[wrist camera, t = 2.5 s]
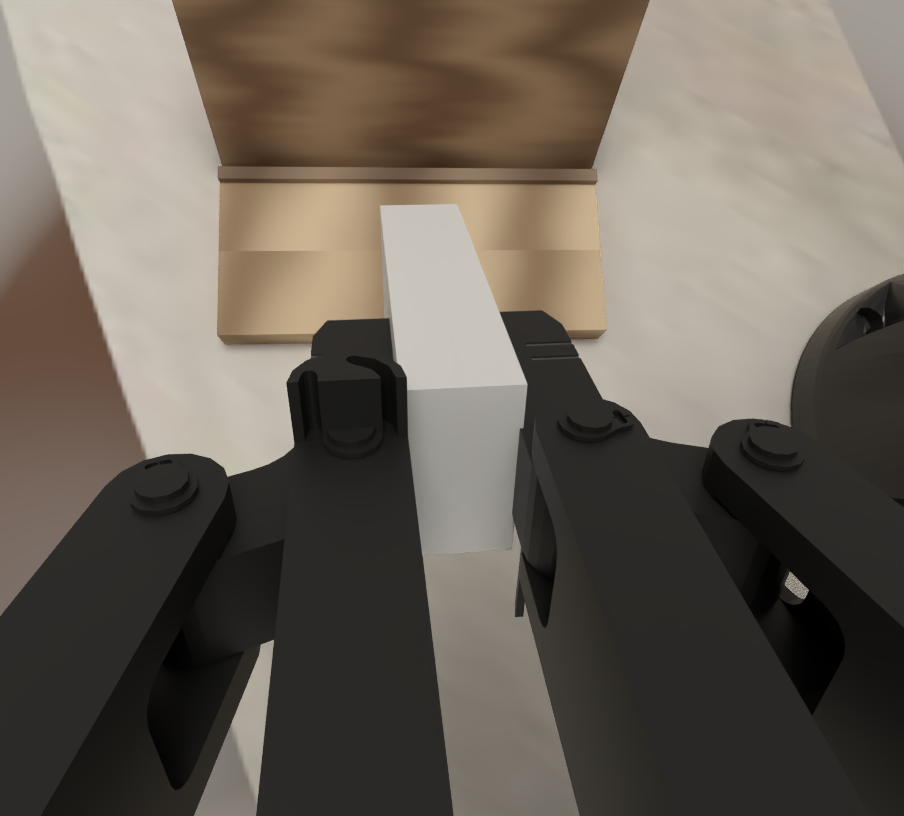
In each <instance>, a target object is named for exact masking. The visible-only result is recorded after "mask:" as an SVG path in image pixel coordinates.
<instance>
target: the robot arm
mask: <svg viewBox="0 0 904 816" xmlns="http://www.w3.org/2000/svg"><path fill="white" fill-rule="evenodd" d="M380 220H381V246H382V271H383V297H384V318H379V319H352V320H327V321H326V322H325V323H324V324H323V326H322V327H321V328H320V329H319V330H318V331H317V332H316V333H315V334H314V335H313V338H312V349H311V359H309V360H306V361H305V362H304V363H302V364H301V365H300V366H298V367H297V368H295V369H294V370H293V371H292V373H291V375H290V377H289V379H288V381H287V391H288V398H289V406H290V413H291V421H292V428H293V435H294V448H293V449H292V450H291V451H289V452H288V453H287V454H286V455H285V456H283V457H281V458H280V459H278V460H276V461H274V462H272V463H270V464H268V465H265V466H262V467H260V468H257V469H254V470H251V471H247V472H243V473H240V474H236V475H233V476H229V477H227V475H226V472H225V470H224V468H223V467H222V466H220V465H219V464H218V463H216V462H215V461H213V460H212V459H211V458H207V457H202V456H198V455H194V454H168V455H164V456H160V457H156V458H152V459H148V460H144V461H142V462H140V463H138V464H136V465H134V466H132V467H130V468H128V469H126V470H124V471H122V472H121V473H120V474H118V475H117V476H116V477H115V478H114V479H113V480H112V481H110V482H109V483H108V484H107V485H106V486H105V487H104V488H103V490H102V491H101V492H100V493H99V494H98V496H97V497H96V498H95V500H94V501H93V502H92V503H91V504H90V506H89V507H88V508H87V509H86V511H85V512H84V513H83V514H82V516H81V517H80V518H79V519H78V521H77V522H76V523H75V524H74V526H73V527H72V528H71V529H70V530H69V532H68V533H67V534H66V536H65V537H64V538H63V539H62V541H61V542H60V543H59V544H58V545H57V547H56V548H55V549H54V550H53V551H52V553H51V554H50V555H49V557H48V558H47V559H46V560H45V562H44V563H43V564H42V565H41V567H40V568H39V569H38V570H37V571H36V573H35V574H34V575H33V577H32V578H31V579H30V580H29V581H28V582H27V584H26V585H25V586H24V587H23V589H22V590H21V591H20V592H19V594H18V595H17V596H16V597H15V599H14V600H13V601H12V602H11V604H10V605H9V606H8V607H7V609H6V610H5V611H4V612H3V614H2V615H1V616H0V816H194V814H195V811H196V809H197V807H198V804H199V802H200V799H201V797H202V794H203V792H204V789H205V787H206V784H207V782H208V779H209V777H210V775H211V772H212V770H213V767H214V765H215V762H216V760H217V757H218V754H219V752H220V750H221V747H222V745H223V742H224V740H225V737H226V735H227V733H228V730H229V728H230V725H231V723H232V720H233V718H234V715H235V713H236V710H237V708H238V705H239V703H240V700H241V698H242V696H243V693H244V691H245V688H246V686H247V683H248V681H249V678H250V676H251V673H252V671H253V668H254V666H255V663H256V661H257V658H258V656H259V652H260V646H261V644H263V643H266V642H269V641H271V640H274V648H273V657H272V667H271V677H270V686H269V696H268V706H267V716H266V725H265V735H264V745H263V755H262V764H261V774H260V784H259V794H258V803H257V814H256V816H453V808H452V799H451V791H450V783H449V774H448V766H447V758H446V749H445V741H444V732H443V724H442V716H441V707H440V699H439V691H438V682H437V674H436V666H435V657H434V649H433V640H432V632H431V624H430V615H429V607H428V599H427V590H426V582H425V574H424V565H423V557H422V556H429V555H443V554H456V553H469V552H483V551H496V550H509V549H512V541H513V531H514V523H515V526H516V530H517V534H518V537H519V541H520V544H521V553H520V562H519V572H518V581H517V590H516V600H515V617H522V616H523V612H524V604H526V608H527V611H528V615H529V619H530V623H531V627H532V631H533V635H534V639H535V643H536V647H537V650H538V654H539V658H540V662H541V666H542V670H543V674H544V678H545V682H546V686H547V689H548V693H549V697H550V701H551V705H552V709H553V713H554V717H555V721H556V724H557V728H558V732H559V736H560V740H561V744H562V748H563V752H564V756H565V760H566V763H567V767H568V771H569V775H570V779H571V783H572V787H573V791H574V795H575V799H576V802H577V806H578V810H579V814H580V816H904V274H902V275H898V276H896V277H893V278H891V279H888V280H886V281H884V282H882V283H880V284H878V285H876V286H874V287H872V288H870V289H868V290H866V291H864V292H862V293H860V294H858V295H856V296H854V297H853V298H851V299H849V300H848V301H846V302H845V303H843V304H842V305H841V306H839V307H838V308H837V309H836V310H834V311H833V312H832V313H831V314H830V315H829V316H828V317H827V318H826V319H825V320H824V321H823V323H822V324H821V325H820V326H819V327H818V329H817V330H816V332H815V333H814V335H813V336H812V338H811V339H810V341H809V343H808V345H807V347H806V349H805V351H804V353H803V355H802V358H801V361H800V363H799V367H798V370H797V373H796V378H795V383H794V389H793V400H792V419H793V428H791V427H788V426H786V425H783V424H780V423H778V422H774V421H769V420H762V419H741V420H732V421H730V422H728V423H725V424H723V425H721V426H719V427H718V428H717V430H716V431H715V433H714V434H713V436H712V438H711V441H710V445H709V448H704V447H697V446H691V445H684V444H677V443H670V442H666V441H661V440H657V439H652V438H650V437H649V436H648V434H647V432H646V431H645V429H644V427H643V426H642V424H641V422H640V421H639V420H638V419H637V418H636V417H635V416H634V415H633V414H632V413H631V412H630V411H629V410H627V409H625V408H623V407H621V406H620V405H618V404H616V403H614V402H610V401H607V400H603V399H602V397H601V395H600V393H599V392H598V390H597V388H596V386H595V384H594V382H593V380H592V379H591V377H590V375H589V373H588V371H587V369H586V367H585V366H584V364H583V362H582V360H581V358H579V354H578V352H577V351H576V349H575V347H574V345H573V344H571V339H570V338H569V336H568V334H567V332H566V330H565V328H564V326H563V325H562V324H561V323H560V322H558V321H557V320H556V319H554V318H553V317H551V316H550V315H548V314H547V313H546V312H544V311H543V310H534V311H506V312H499V310H498V307H497V305H496V302H495V300H494V297H493V295H492V292H491V289H490V287H489V284H488V282H487V279H486V277H485V274H484V271H483V269H482V266H481V264H480V261H479V259H478V256H477V253H476V251H475V248H474V246H473V243H472V241H471V238H470V236H469V233H468V230H467V228H466V225H465V223H464V220H463V218H462V215H461V212H460V210H459V207H458V205H457V204H430V205H380ZM789 572H791V573H792V574H793V575H794V576H795V577H796V578H797V579H798V580H799V581H800V582H801V583H802V584H803V585H804V586H806V587H807V588H808V589H809V592H808V594H807V596H806V598H805V599H801V598H799V597H797V596H796V595H795V594H793V593H792V592H791V591H790V590H789V589H788V588H787V587H786V586H785V585H784V584H785V582H786V579H787V577H788V575H789Z"/></svg>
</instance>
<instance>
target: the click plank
mask: <svg viewBox="0 0 904 816" xmlns="http://www.w3.org/2000/svg"><path fill="white" fill-rule="evenodd" d="M172 2H173V5H174V9H175V12H176V15H177V18H178V22H179V25H180V28H181V32H182V35H183V38H184V41H185V45H186V48H187V51H188V55H189V58H190V61H191V64H192V68H193V71H194V74H195V78H196V81H197V84H198V87H199V91H200V94H201V97H202V101H203V104H204V107H205V110H206V114H207V117H208V120H209V124H210V127H211V130H212V133H213V137H214V140H215V143H216V147H217V150H218V153H219V156H220V160H221V163H222V166H243V167H378V168H512V169H591V168H592V165H593V163H594V160H595V157H596V154H597V151H598V148H599V145H600V142H601V139H602V136H603V134H604V131H605V128H606V125H607V122H608V119H609V116H610V113H611V110H612V108H613V105H614V102H615V99H616V96H617V93H618V90H619V87H620V84H621V81H622V79H623V76H624V73H625V70H626V67H627V64H628V61H629V58H630V55H631V53H632V50H633V47H634V44H635V41H636V38H637V35H638V32H639V29H640V26H641V24H642V21H643V18H644V15H645V12H646V9H647V6H648V3H649V0H172Z"/></svg>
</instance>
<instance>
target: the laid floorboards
mask: <svg viewBox="0 0 904 816" xmlns="http://www.w3.org/2000/svg"><path fill="white" fill-rule="evenodd" d="M218 179H219V181H220V213H219V267H218V320H217V335H218V337H219V338H220V339H221V340H222V341H223V342H224V343H225V344H253V343H312V338H313V335H314V334H315V333H316V332H317V331H318V330H319V329H320V328H321V327H322V326H323V324H324V323H325V322H326V321H327V320H352V319H379V318H384V297H383V271H382V246H381V220H380V205H430V204H457V205H458V207H459V210H460V212H461V215H462V218H463V220H464V223H465V225H466V228H467V230H468V233H469V236H470V238H471V241H472V243H473V246H474V248H475V251H476V253H477V256H478V259H479V261H480V264H481V266H482V269H483V271H484V274H485V277H486V279H487V282H488V284H489V287H490V289H491V292H492V295H493V297H494V300H495V302H496V305H497V307H498V310H499V312H506V311H534V310H543V311H544V312H546V313H547V314H548V315H550V316H551V317H553V318H554V319H556V320H557V321H558V322H560V323H561V324H562V325H563V326H564V328H565V330H566V332H567V334H568V336H569V338H570V339H579V338H598V337H599V336H601V335H602V334H603V333H604V332H605V331H606V330H607V325H606V313H605V300H604V288H603V276H602V263H601V251H600V238H599V226H598V214H597V201H596V189H595V184H596V182H597V181H598V180H597V169H512V168H378V167H243V166H218Z"/></svg>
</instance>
